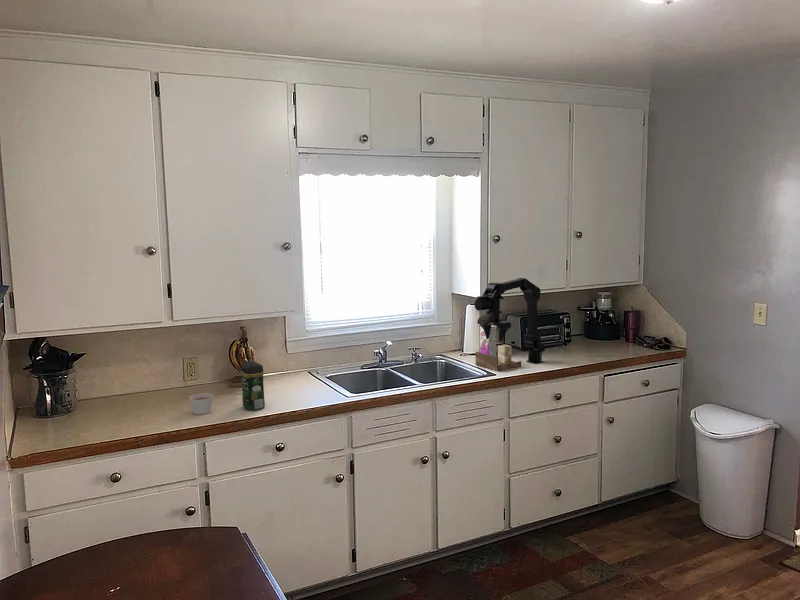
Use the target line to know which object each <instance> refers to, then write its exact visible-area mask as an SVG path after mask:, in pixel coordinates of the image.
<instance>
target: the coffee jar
mask: <svg viewBox="0 0 800 600" xmlns="http://www.w3.org/2000/svg"><path fill="white" fill-rule="evenodd" d="M240 374H241V388H242V406H243V407H244V409H245V410H247V411H259V410H261V409H264V408H265V407H266V406H265V403H266V402H265V391H264V389H265V388H264V387H265V385H264V366H263V365H262V364H261V363H258V362H256V361H254V360H249V361H244V362H243V363H242V364H241V369H240Z"/></svg>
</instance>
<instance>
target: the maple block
mask: <svg viewBox="0 0 800 600" xmlns="http://www.w3.org/2000/svg"><path fill="white" fill-rule="evenodd" d="M497 356H498V361H499V362H503V363H507V362H511V361H512V345H508V344H501V345H500V344H499V345H497Z"/></svg>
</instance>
